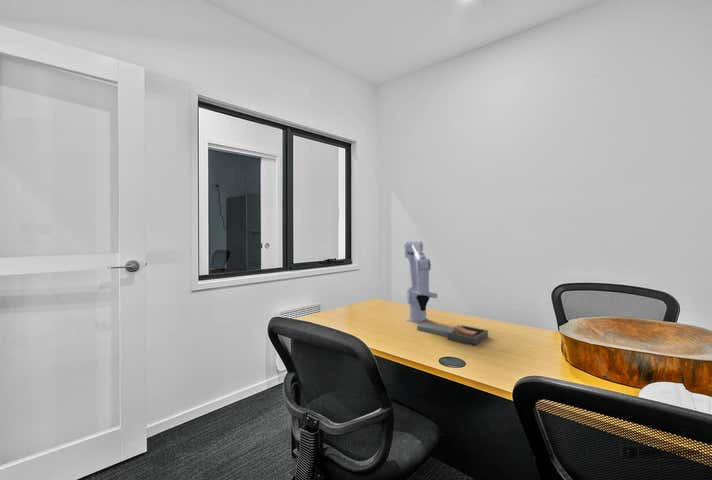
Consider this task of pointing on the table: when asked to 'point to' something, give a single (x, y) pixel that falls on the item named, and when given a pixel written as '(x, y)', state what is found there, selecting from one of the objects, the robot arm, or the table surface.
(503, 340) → the table surface
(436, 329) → the slate plate
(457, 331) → the tile back
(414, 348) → the table surface
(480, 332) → the box
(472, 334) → the tile front
